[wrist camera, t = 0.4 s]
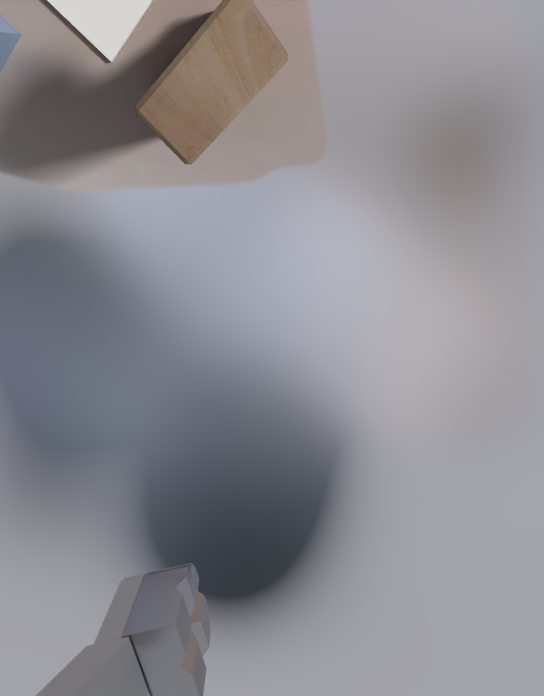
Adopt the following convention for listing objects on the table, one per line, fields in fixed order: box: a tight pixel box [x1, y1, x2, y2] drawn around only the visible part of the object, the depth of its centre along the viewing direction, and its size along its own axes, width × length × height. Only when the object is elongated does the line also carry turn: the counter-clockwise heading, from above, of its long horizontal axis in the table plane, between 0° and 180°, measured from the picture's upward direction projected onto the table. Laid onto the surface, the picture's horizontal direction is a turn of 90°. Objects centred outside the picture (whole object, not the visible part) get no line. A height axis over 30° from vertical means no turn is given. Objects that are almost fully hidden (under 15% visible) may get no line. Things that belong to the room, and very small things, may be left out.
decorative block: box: [135, 0, 288, 164], centre depth 38 cm, size 11×6×20 cm, turn 130°
